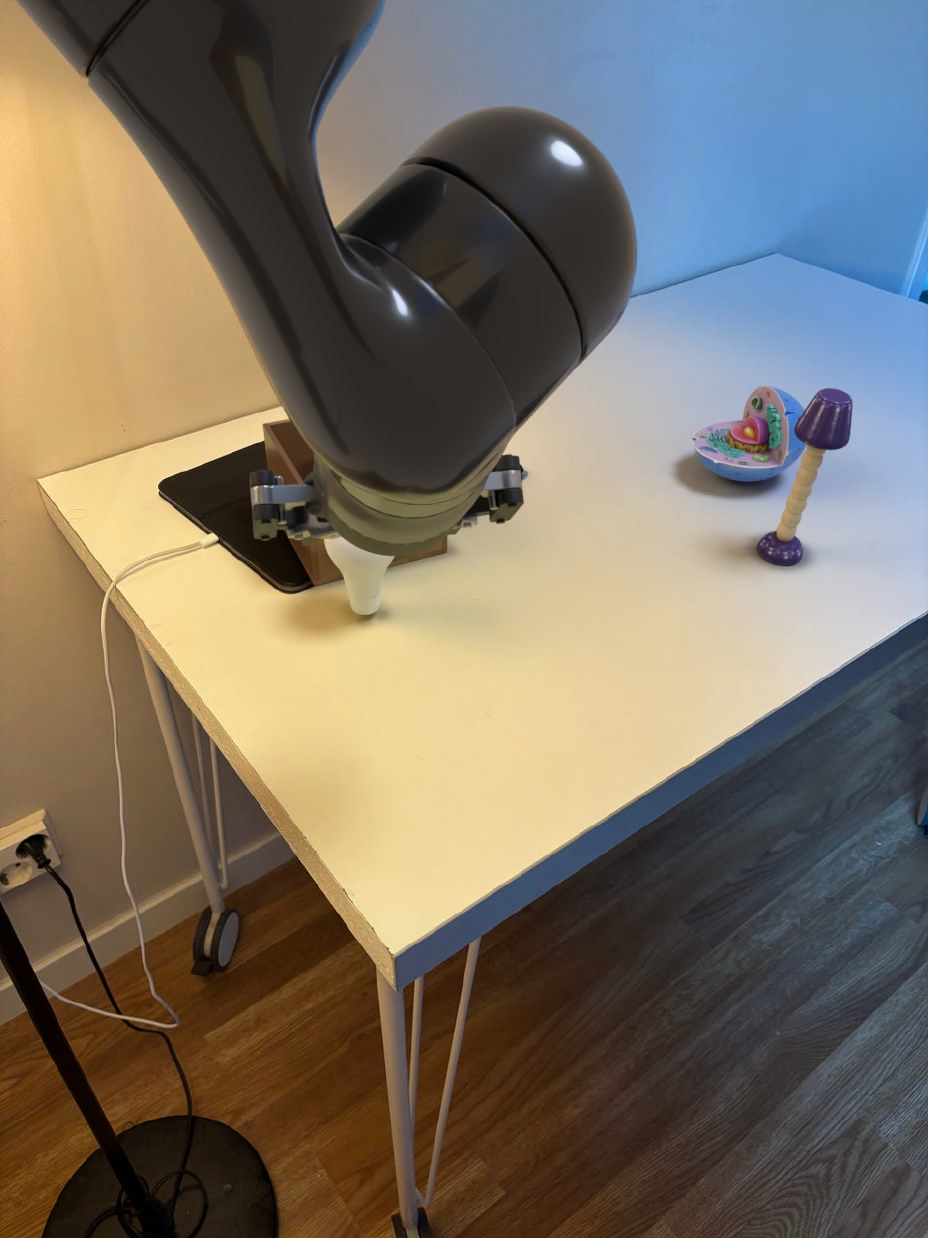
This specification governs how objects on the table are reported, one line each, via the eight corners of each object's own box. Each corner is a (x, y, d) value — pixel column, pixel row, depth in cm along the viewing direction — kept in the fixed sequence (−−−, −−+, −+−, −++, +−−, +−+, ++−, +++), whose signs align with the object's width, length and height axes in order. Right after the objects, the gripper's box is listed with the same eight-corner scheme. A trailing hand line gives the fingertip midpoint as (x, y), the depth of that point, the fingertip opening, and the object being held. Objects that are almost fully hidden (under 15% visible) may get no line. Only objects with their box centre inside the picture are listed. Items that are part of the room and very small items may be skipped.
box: (314, 586, 85) (306, 496, 79) (272, 509, 94) (262, 423, 87) (447, 552, 89) (449, 465, 83) (395, 482, 98) (393, 398, 92)
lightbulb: (368, 645, 79) (363, 538, 72) (315, 615, 82) (305, 508, 75) (415, 609, 83) (414, 503, 76) (362, 581, 86) (357, 476, 78)
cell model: (670, 455, 104) (686, 374, 98) (771, 446, 106) (793, 366, 100) (707, 506, 97) (727, 421, 90) (814, 495, 99) (841, 412, 93)
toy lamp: (797, 538, 93) (848, 380, 82) (816, 567, 89) (872, 407, 78) (750, 540, 92) (795, 382, 81) (767, 569, 89) (816, 408, 78)
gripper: (548, 367, 43) (486, 455, 59) (227, 381, 41) (252, 469, 57) (565, 531, 43) (498, 575, 59) (241, 554, 40) (263, 594, 56)
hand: (377, 523), depth 58 cm, fingers open, 8 cm apart
